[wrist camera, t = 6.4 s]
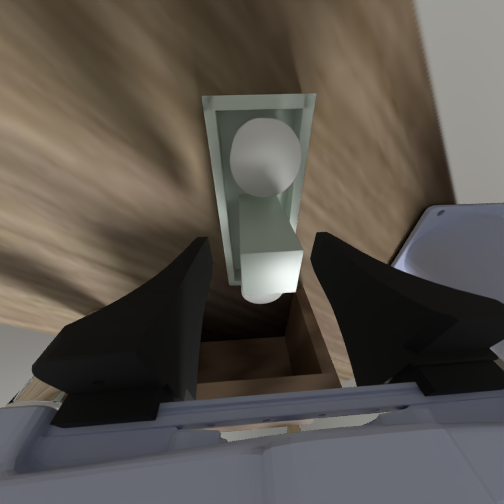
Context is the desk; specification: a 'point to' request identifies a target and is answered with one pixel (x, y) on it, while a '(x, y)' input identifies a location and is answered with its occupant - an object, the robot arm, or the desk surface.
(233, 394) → the brown open box
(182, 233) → the desk surface
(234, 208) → the caddy
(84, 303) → the desk surface
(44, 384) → the milkshake
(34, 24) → the desk surface
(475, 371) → the robot arm
